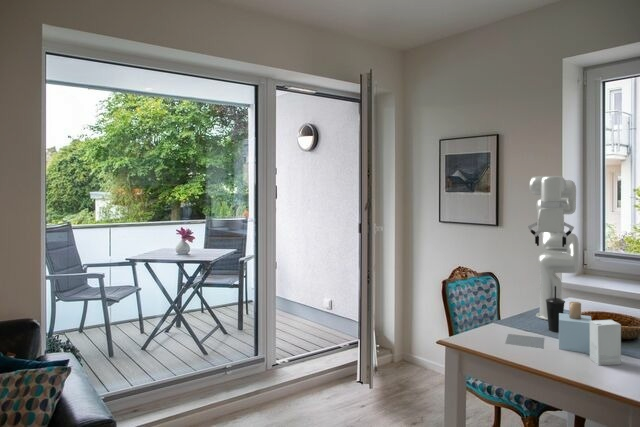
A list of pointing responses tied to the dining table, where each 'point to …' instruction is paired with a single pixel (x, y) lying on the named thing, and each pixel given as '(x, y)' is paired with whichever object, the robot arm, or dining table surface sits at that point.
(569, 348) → the cover box
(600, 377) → the dining table surface
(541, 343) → the mat
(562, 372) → the dining table surface
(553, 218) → the robot arm
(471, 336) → the dining table surface
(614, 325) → the skincare box
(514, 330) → the dining table surface
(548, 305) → the drinking cup
